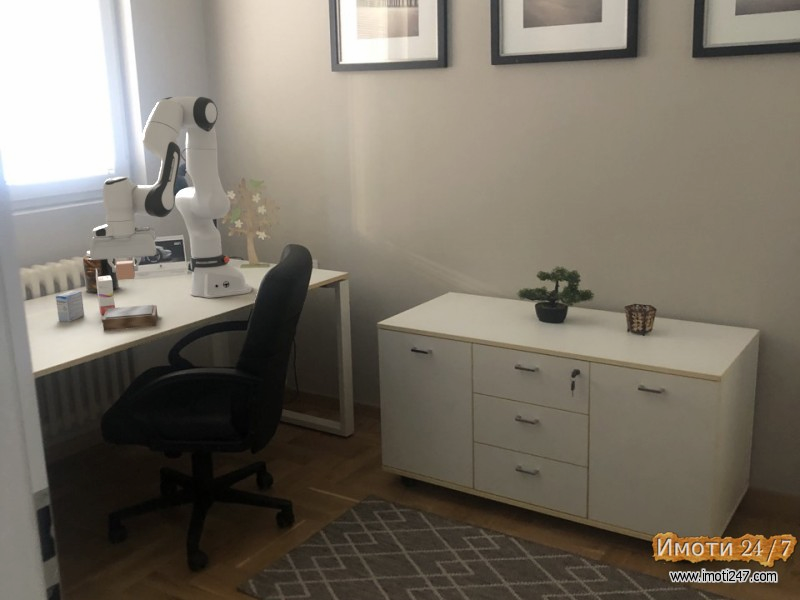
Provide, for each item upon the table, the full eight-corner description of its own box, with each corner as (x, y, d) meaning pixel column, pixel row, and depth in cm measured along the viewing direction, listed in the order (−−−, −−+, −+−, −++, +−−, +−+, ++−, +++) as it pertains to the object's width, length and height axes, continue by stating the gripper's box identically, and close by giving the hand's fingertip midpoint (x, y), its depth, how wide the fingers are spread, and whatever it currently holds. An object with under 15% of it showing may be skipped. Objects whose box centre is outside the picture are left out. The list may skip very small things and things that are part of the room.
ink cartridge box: (116, 313, 289) (111, 271, 285) (101, 315, 287) (96, 272, 283) (114, 307, 296) (109, 266, 293) (99, 309, 295) (94, 268, 291)
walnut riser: (157, 315, 284) (156, 303, 283) (155, 326, 271) (154, 314, 270) (107, 319, 281) (106, 307, 280) (103, 330, 267) (102, 318, 266)
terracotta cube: (134, 275, 275) (133, 260, 274) (133, 278, 270) (132, 263, 269) (118, 276, 274) (117, 261, 273) (117, 279, 269) (115, 264, 268)
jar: (109, 293, 319) (104, 254, 315) (80, 292, 321) (75, 253, 317) (124, 286, 330) (119, 248, 327) (96, 285, 332) (92, 248, 329)
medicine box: (73, 315, 288) (70, 290, 286) (84, 315, 287) (81, 290, 285) (58, 321, 281) (55, 295, 278) (69, 321, 279) (66, 296, 277)
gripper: (155, 225, 274) (159, 267, 277) (88, 229, 269) (93, 271, 272) (154, 228, 268) (158, 270, 271) (86, 232, 263) (91, 275, 266)
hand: (125, 271), depth 272 cm, fingers closed on terracotta cube, 5 cm apart
